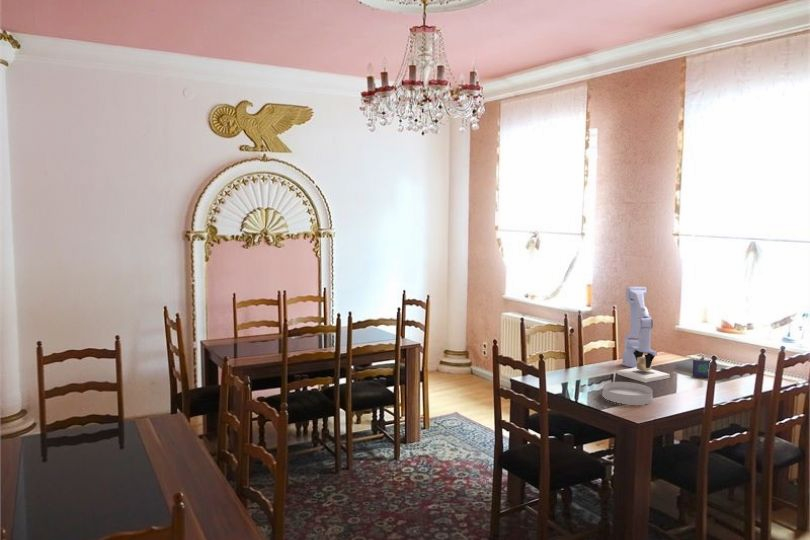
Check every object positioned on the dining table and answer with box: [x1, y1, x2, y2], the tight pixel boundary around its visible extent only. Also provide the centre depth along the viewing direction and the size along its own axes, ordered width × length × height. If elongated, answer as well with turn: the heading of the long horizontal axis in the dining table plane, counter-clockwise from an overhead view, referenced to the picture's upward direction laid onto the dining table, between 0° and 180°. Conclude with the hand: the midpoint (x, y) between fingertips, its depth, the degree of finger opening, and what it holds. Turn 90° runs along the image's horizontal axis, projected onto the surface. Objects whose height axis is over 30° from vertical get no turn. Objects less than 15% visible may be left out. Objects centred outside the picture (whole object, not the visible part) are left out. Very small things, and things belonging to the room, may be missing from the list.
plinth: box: [617, 367, 671, 384], centre depth 333 cm, size 18×18×2 cm
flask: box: [692, 356, 712, 378], centre depth 332 cm, size 9×3×11 cm, turn 87°
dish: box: [601, 381, 654, 406], centre depth 295 cm, size 22×22×5 cm
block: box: [637, 356, 653, 371], centre depth 332 cm, size 5×5×6 cm
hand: (643, 366), depth 332 cm, fingers closed on block, 5 cm apart
